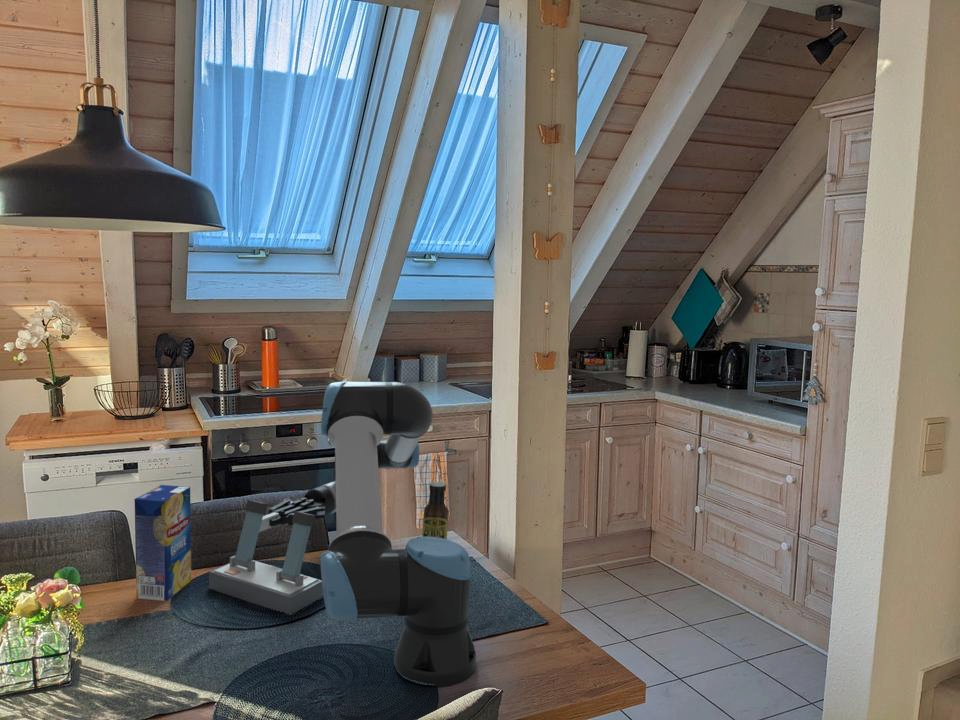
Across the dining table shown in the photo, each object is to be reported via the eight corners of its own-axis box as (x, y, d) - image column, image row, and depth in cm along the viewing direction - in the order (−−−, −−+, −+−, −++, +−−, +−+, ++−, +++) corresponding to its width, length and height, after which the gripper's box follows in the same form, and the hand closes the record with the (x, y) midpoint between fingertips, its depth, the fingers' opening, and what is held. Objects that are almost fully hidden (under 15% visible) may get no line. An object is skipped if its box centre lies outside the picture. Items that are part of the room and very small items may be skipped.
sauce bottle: (419, 565, 188) (421, 486, 185) (422, 555, 194) (424, 479, 192) (445, 566, 188) (448, 488, 185) (447, 557, 194) (450, 480, 191)
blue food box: (191, 580, 174) (190, 486, 172) (166, 601, 164) (164, 501, 161) (162, 578, 175) (161, 484, 172) (136, 598, 164) (134, 499, 162)
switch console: (322, 598, 168) (323, 570, 167) (291, 615, 159) (291, 586, 158) (242, 573, 179) (242, 547, 178) (209, 588, 170) (209, 561, 170)
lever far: (251, 568, 172) (267, 504, 174) (244, 568, 170) (260, 503, 172) (238, 564, 173) (255, 500, 176) (231, 564, 171) (247, 499, 174)
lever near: (299, 582, 165) (315, 515, 168) (292, 582, 163) (308, 514, 166) (285, 578, 167) (301, 512, 169) (278, 578, 165) (294, 511, 167)
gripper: (344, 519, 193) (277, 547, 172) (305, 509, 199) (235, 536, 178) (345, 490, 192) (277, 515, 171) (305, 481, 198) (235, 504, 177)
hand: (256, 526), depth 175 cm, fingers closed
